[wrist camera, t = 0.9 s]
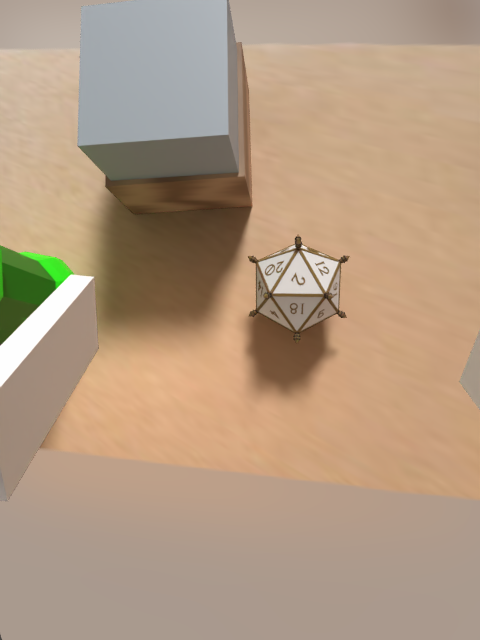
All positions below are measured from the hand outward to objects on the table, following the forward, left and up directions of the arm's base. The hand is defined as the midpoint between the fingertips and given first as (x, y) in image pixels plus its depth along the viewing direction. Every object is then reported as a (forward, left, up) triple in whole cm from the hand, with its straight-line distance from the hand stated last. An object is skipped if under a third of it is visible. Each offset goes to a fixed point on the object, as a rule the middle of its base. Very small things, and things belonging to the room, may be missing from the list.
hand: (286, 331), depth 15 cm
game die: (-1, -6, -27) cm, 27 cm away
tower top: (+9, -20, -20) cm, 30 cm away
